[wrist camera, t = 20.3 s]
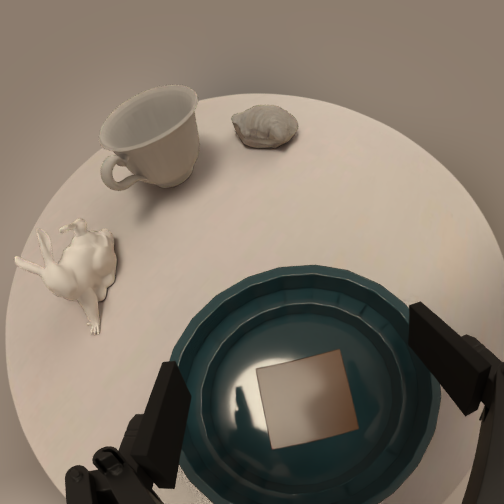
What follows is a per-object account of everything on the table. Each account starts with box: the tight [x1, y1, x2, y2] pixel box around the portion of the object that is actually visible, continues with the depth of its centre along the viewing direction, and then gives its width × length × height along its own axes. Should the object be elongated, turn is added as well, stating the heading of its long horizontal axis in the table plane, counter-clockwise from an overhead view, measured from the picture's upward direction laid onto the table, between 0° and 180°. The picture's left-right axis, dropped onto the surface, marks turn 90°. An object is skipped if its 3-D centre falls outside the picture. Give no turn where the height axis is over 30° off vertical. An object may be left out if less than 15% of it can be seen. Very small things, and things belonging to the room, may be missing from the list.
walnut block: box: [256, 349, 359, 450], centre depth 18 cm, size 4×4×10 cm
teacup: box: [99, 85, 200, 191], centre depth 33 cm, size 12×15×10 cm
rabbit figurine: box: [15, 218, 117, 335], centre depth 27 cm, size 12×8×10 cm, turn 170°
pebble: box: [231, 105, 298, 148], centre depth 36 cm, size 9×8×5 cm
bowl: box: [170, 265, 441, 504], centre depth 20 cm, size 20×20×6 cm
